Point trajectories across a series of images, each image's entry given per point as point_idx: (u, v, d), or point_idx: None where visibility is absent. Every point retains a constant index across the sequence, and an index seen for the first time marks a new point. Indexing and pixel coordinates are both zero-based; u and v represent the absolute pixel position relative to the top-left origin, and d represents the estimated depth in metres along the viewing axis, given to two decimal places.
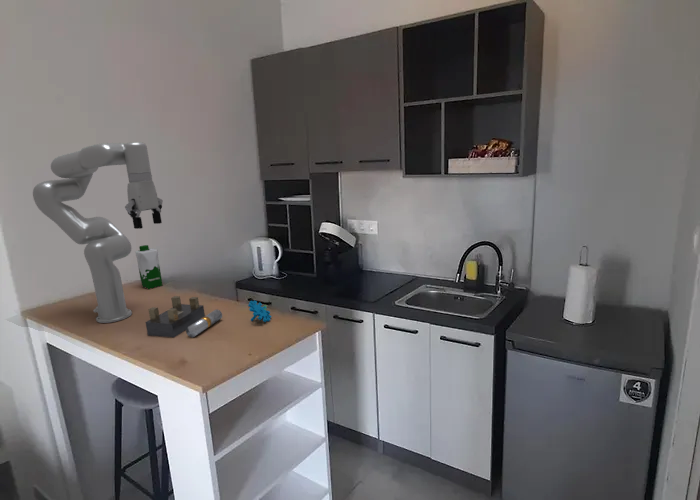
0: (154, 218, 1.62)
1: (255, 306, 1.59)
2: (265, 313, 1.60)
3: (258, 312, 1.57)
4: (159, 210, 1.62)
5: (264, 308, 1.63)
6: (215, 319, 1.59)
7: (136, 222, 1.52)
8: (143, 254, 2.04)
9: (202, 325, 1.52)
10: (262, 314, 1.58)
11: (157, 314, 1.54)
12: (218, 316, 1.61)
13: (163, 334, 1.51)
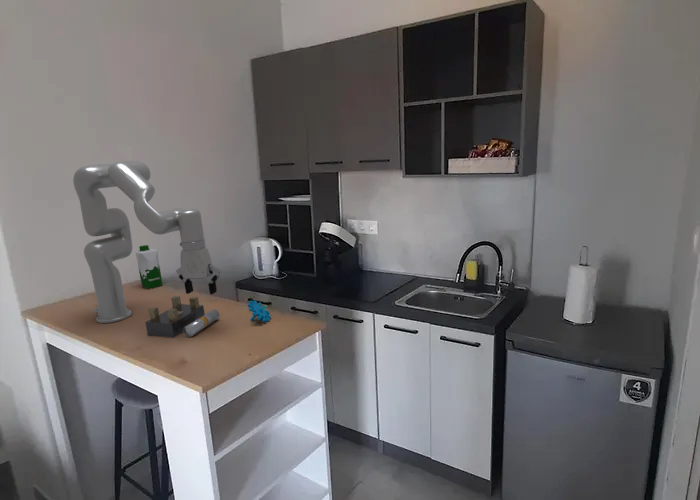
0: (188, 288, 1.54)
1: (255, 306, 1.59)
2: (265, 313, 1.60)
3: (257, 312, 1.57)
4: None
5: (264, 308, 1.63)
6: (211, 316, 1.59)
7: (215, 286, 1.52)
8: (143, 254, 2.04)
9: (197, 322, 1.52)
10: (261, 314, 1.58)
11: (157, 314, 1.54)
12: (214, 313, 1.61)
13: (163, 334, 1.51)
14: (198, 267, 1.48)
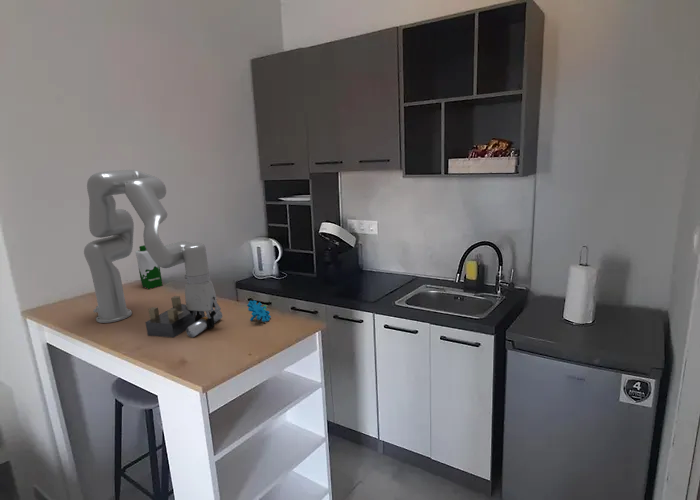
0: None
1: (254, 306, 1.59)
2: (264, 313, 1.60)
3: (257, 312, 1.57)
4: None
5: (264, 308, 1.63)
6: (215, 319, 1.59)
7: (213, 321, 1.56)
8: (143, 254, 2.04)
9: (202, 325, 1.52)
10: (261, 314, 1.58)
11: (157, 314, 1.54)
12: (218, 316, 1.61)
13: (163, 334, 1.51)
14: (202, 300, 1.51)
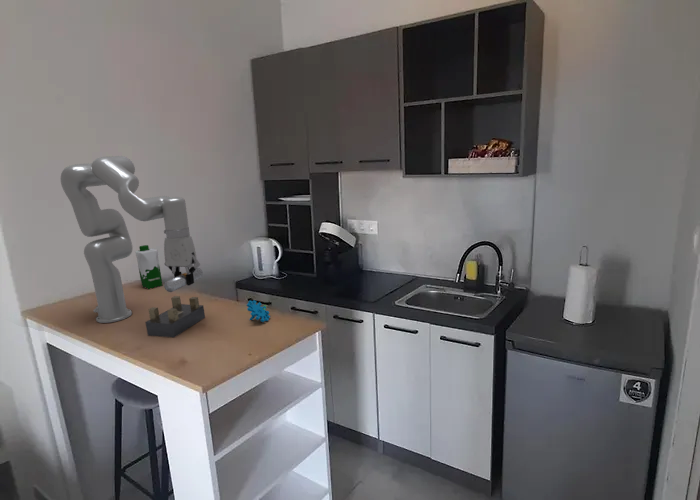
0: None
1: (254, 306, 1.59)
2: (264, 313, 1.60)
3: (256, 312, 1.57)
4: None
5: (263, 308, 1.63)
6: (195, 276, 1.57)
7: (192, 277, 1.54)
8: (143, 254, 2.04)
9: (180, 280, 1.50)
10: (260, 314, 1.58)
11: (157, 314, 1.54)
12: (198, 274, 1.59)
13: (163, 334, 1.51)
14: (181, 255, 1.49)
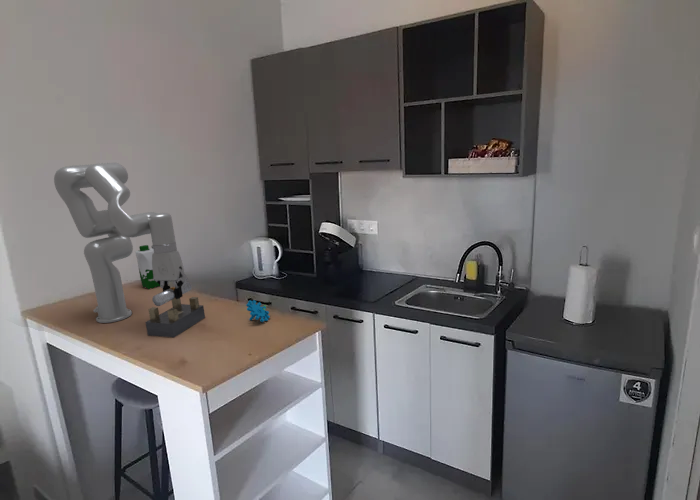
0: None
1: (253, 306, 1.59)
2: (263, 313, 1.60)
3: (256, 312, 1.58)
4: None
5: (263, 308, 1.63)
6: (183, 290, 1.60)
7: (181, 291, 1.57)
8: (143, 254, 2.04)
9: (168, 294, 1.53)
10: (260, 314, 1.58)
11: (157, 314, 1.54)
12: (187, 287, 1.62)
13: (163, 334, 1.51)
14: (169, 269, 1.52)
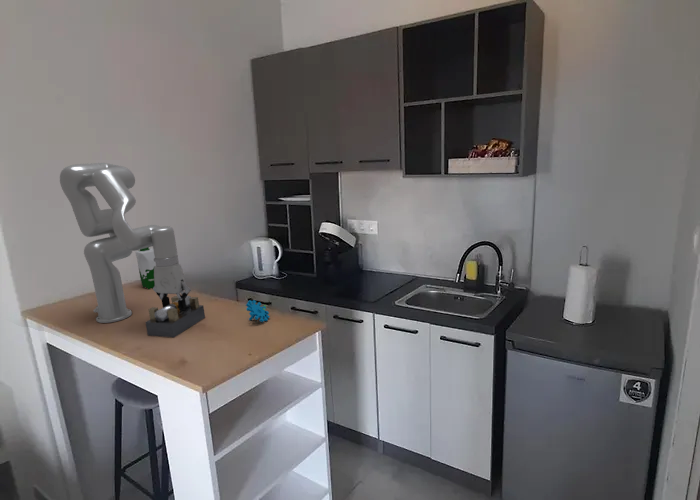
0: (165, 304, 1.58)
1: (253, 306, 1.60)
2: (263, 313, 1.60)
3: (255, 312, 1.58)
4: None
5: (263, 308, 1.63)
6: None
7: (184, 303, 1.57)
8: (143, 254, 2.04)
9: None
10: (259, 314, 1.58)
11: None
12: (188, 302, 1.63)
13: (163, 334, 1.51)
14: (171, 283, 1.53)
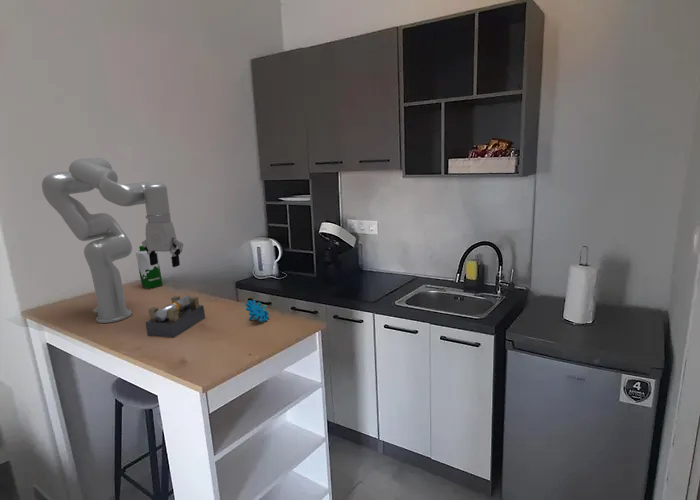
0: (153, 259, 1.59)
1: (253, 306, 1.60)
2: (263, 313, 1.61)
3: (255, 312, 1.58)
4: None
5: (263, 308, 1.63)
6: (185, 304, 1.61)
7: (178, 259, 1.57)
8: (143, 254, 2.04)
9: None
10: (259, 314, 1.58)
11: None
12: (188, 302, 1.63)
13: (163, 334, 1.51)
14: (162, 240, 1.53)
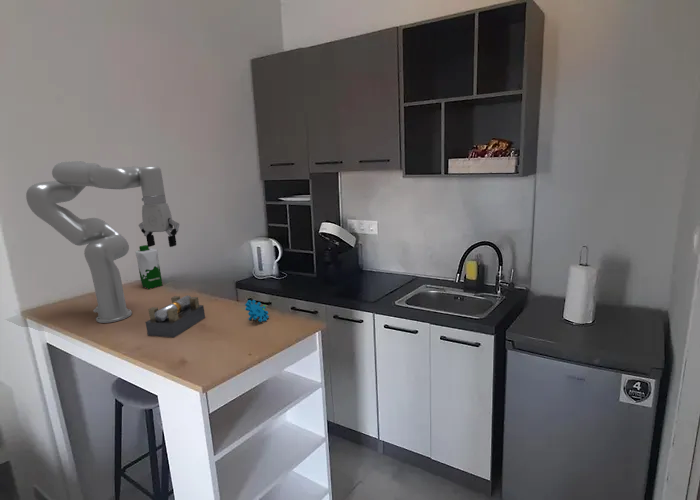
0: (150, 241, 1.64)
1: (252, 306, 1.60)
2: (262, 313, 1.61)
3: (254, 312, 1.58)
4: None
5: (262, 308, 1.63)
6: (185, 304, 1.61)
7: (175, 239, 1.62)
8: (143, 254, 2.04)
9: None
10: (258, 314, 1.59)
11: None
12: (188, 302, 1.63)
13: (163, 334, 1.51)
14: (158, 220, 1.58)
